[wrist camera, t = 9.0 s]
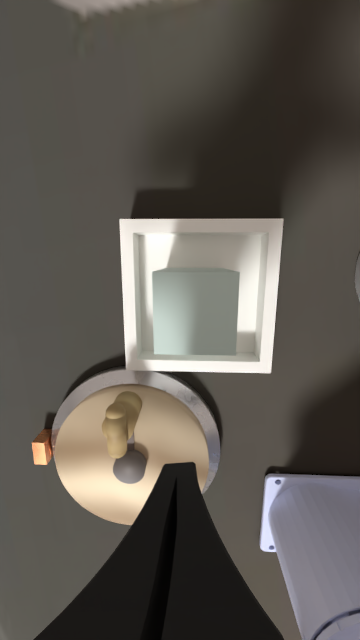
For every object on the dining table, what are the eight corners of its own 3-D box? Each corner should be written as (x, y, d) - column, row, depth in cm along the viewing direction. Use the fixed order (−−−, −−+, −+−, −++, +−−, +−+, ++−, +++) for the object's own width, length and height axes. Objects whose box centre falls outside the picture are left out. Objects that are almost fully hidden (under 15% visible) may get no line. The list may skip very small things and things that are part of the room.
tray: (271, 224, 19) (283, 218, 16) (261, 359, 21) (270, 373, 18) (128, 224, 19) (119, 219, 17) (133, 357, 21) (126, 370, 19)
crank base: (222, 367, 21) (224, 376, 19) (216, 511, 24) (218, 531, 22) (36, 363, 22) (22, 372, 20) (53, 505, 25) (42, 523, 23)
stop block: (222, 267, 19) (239, 271, 12) (220, 322, 20) (236, 355, 13) (166, 267, 19) (151, 271, 12) (166, 322, 20) (153, 354, 13)
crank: (206, 514, 23) (210, 583, 18) (68, 509, 23) (36, 574, 18) (210, 375, 20) (216, 412, 15) (54, 372, 21) (11, 406, 16)
